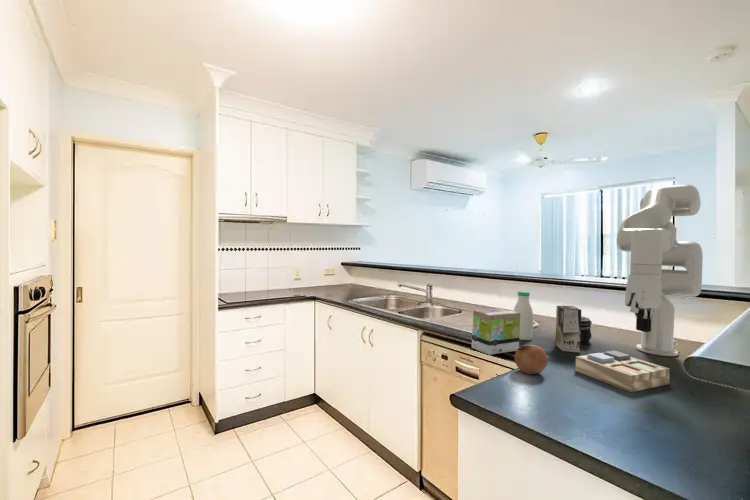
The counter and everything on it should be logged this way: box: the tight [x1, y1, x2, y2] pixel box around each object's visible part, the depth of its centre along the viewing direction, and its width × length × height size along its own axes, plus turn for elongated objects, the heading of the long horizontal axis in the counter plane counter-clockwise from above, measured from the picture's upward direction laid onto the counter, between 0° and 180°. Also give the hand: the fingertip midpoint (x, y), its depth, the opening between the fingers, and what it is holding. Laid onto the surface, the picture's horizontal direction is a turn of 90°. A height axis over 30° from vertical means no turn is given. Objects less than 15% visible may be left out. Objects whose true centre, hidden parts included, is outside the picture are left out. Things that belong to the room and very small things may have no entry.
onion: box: [514, 344, 549, 375], centre depth 111 cm, size 10×9×10 cm
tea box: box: [471, 307, 520, 356], centre depth 134 cm, size 15×10×15 cm, turn 117°
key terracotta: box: [614, 366, 637, 372], centre depth 104 cm, size 5×5×3 cm
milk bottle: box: [513, 290, 534, 341], centre depth 151 cm, size 8×8×20 cm
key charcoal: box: [603, 349, 631, 361], centre depth 113 cm, size 5×5×3 cm
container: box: [580, 315, 593, 346], centre depth 148 cm, size 13×13×10 cm
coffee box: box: [555, 305, 582, 353], centre depth 137 cm, size 9×6×16 cm
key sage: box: [631, 363, 653, 369], centre depth 106 cm, size 5×5×3 cm
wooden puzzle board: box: [575, 352, 671, 393], centre depth 108 cm, size 17×17×5 cm
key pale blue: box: [587, 352, 614, 364], centre depth 110 cm, size 5×5×3 cm
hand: (643, 330), depth 106 cm, fingers closed
